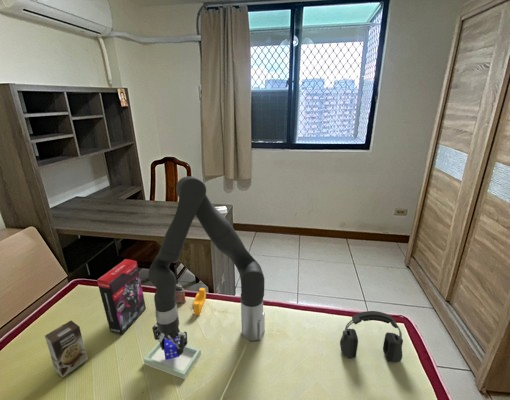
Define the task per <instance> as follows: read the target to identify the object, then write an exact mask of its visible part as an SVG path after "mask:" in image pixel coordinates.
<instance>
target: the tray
mask: <svg viewBox="0 0 510 400" xmlns="http://www.w3.org/2000/svg"><path fill="white" fill-rule="evenodd" d="M183 350H184V351H183V353H182V354H181V355H180V356H179V357H176V358H172V359H168V360H165V353H164V350H162V349H161V347H160V342H159V341H158V342H157V343H156V344H155V345H154V346H153V347H152V348H151V350H150V351H149V352H148V353H147V354H146V355H145V356H144V358H143V363H144V365H146V366H148V367H151V368H153V369H156V370H159V371H162V372H164V373H165V374H166V373H167V374H170V375H172V376H175V377H177V378H180V379H183V380H186V378H187V377H188V376H189V374H190V372H191V371H192V369H193V368H194V366H195V364H196V363H197V362H198V360H199V358H200V357H201V355H202V350H201V349H200V348H197V347H195V346H192V345H189V344H187V345H186V346H185V347H184V349H183Z"/></svg>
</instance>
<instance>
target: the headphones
mask: <svg viewBox="0 0 510 400" xmlns="http://www.w3.org/2000/svg"><path fill="white" fill-rule="evenodd" d="M371 321H374V322H375V321H377V322H383V323H385V324H391V326H392V327H393V328H395V329H397V330H398V334H399V335H398V334H397V333H394V332H386V333H385V335H384V340H383V345H382V352H383V354H384V357H385V359H386V360H387V362H390V363H400V362H401V361H402V360H403V345H404V344H403V343H404V340H403V335H402V334H403V333H402V331H401V329H400V326H399V325H398V324H397V321H396V320H395V319H394V318H393V317H392V316H391V315H390V314H387V313H385V312H383V311H377V310H367V311H363V312H358V313H356V314H354V315H353V316H352V317H351V320H350V321H348V322H347V323H346V325H345V327H344V330H342V335H341V338H340V340H339V346H340V351H341V353H342V355H343V356H344V357H347V358H350V359H354V358H356V357H357V354H358V353H357V352H358V347H359V346H358V345H359V337H358V334H357V331H356V330H355V328H349V327H350V326H351V325H352V324H354V325H358V324H360V323H361V322H371Z"/></svg>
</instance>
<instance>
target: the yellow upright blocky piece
mask: <svg viewBox="0 0 510 400" xmlns="http://www.w3.org/2000/svg"><path fill="white" fill-rule="evenodd" d="M206 292H207V291H206V287H199V290H198V292H197V293H196V295H195V298H194V301H193V314H194V316H200V315H201V314H200V313H202V311H203V308H202V307H204V306H205V305H204V304H205V302H206V299H207V293H206ZM201 310H202V311H201Z"/></svg>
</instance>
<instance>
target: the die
mask: <svg viewBox="0 0 510 400" xmlns="http://www.w3.org/2000/svg"><path fill="white" fill-rule="evenodd" d="M176 339H177V337H176V338H175V340H176ZM179 343H180V342H179V341H178V344H179ZM164 353H165V360H168V359H172V358H176V357H179V356H178V353H177V347H176V345H175V344H173V343H172V341H171V340H169V339H166V340H164Z"/></svg>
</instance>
